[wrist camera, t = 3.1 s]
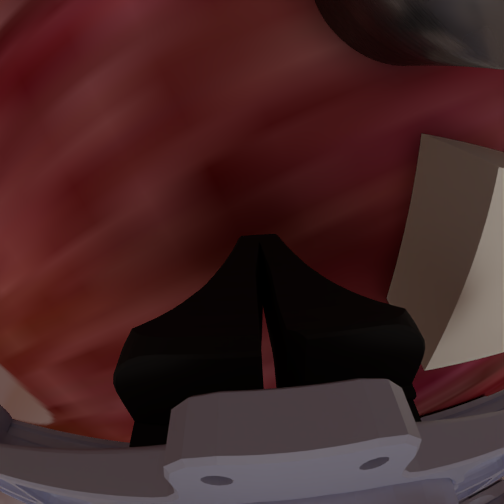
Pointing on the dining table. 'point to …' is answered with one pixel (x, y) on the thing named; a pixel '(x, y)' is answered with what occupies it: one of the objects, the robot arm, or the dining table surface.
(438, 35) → the grey glossy ball
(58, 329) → the dining table surface
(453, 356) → the carton
